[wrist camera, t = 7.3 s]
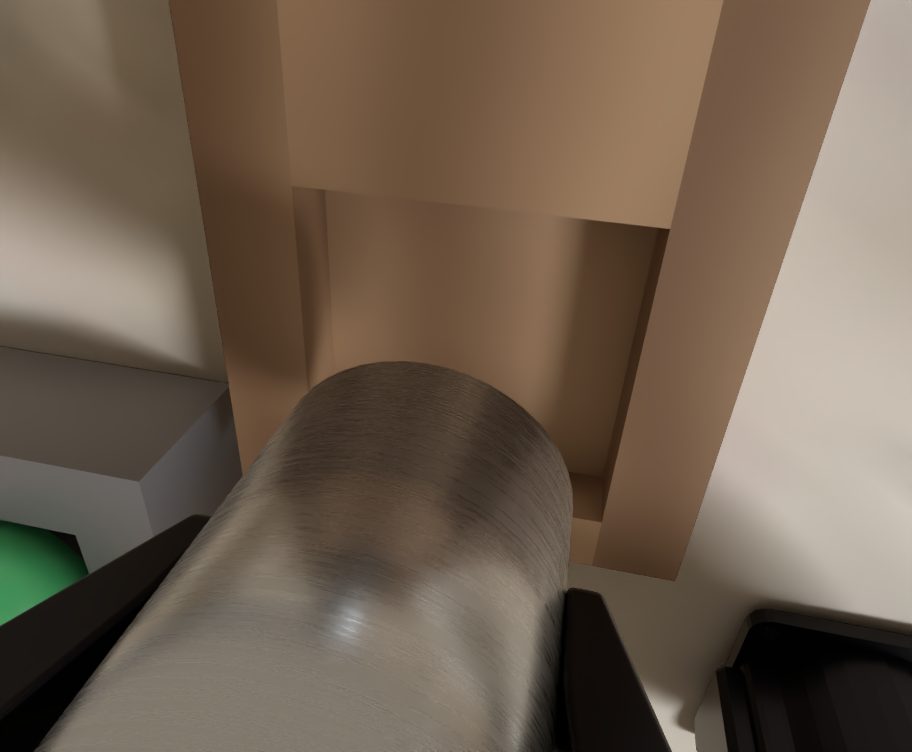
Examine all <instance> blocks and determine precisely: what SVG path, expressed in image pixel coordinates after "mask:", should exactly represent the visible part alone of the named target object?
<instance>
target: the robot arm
mask: <svg viewBox="0 0 912 752" xmlns="http://www.w3.org/2000/svg"><path fill="white" fill-rule="evenodd" d="M211 517H212V516H208V515H203V514H194V515H191V516H189V517H187V518H185V519H183V520H181V521H180V522H178V523H176V524H175V525H173V526H171V527H169V528H168V529H166V530H164V531H163V532H161V533H159V534H157V535H156V536H154V537H152V538H150V539H149V540H147V541H145V542H144V543H142V544H140V545H138V546H137V547H135V548H133V549H132V550H130V551H128V552H126V553H125V554H123V555H121V556H119V557H118V558H116V559H114V560H113V561H111V562H109V563H107V564H106V565H104V566H102V567H100V568H99V569H97V570H95V571H94V572H92V573H90V574H88V575H87V576H85V577H83V578H82V579H80V580H78V581H76V582H75V583H73V584H71V585H69V586H68V587H66V588H64V589H63V590H61V591H59V592H57V593H56V594H54V595H52V596H51V597H49V598H47V599H45V600H44V601H42V602H40V603H38V604H37V605H35V606H33V607H32V608H30V609H28V610H26V611H25V612H23V613H21V614H20V615H18V616H16V617H14V618H13V619H11V620H9V621H7V622H6V623H4V624H2V625H1V626H0V752H34V751H35V749H36V748H37V747H38V745H39V744H40V743H41V741H42V740H43V739H44V737H45V736H46V735H47V733H48V732H49V731H50V729H51V728H52V727H53V725H54V724H55V723H56V722H57V720H58V719H59V718H60V716H61V715H62V714H63V712H64V711H65V710H66V708H67V707H68V706H69V704H70V703H71V702H72V700H73V699H74V698H75V696H76V695H77V694H78V692H79V691H80V690H81V689H82V687H83V686H84V685H85V683H86V682H87V681H88V679H89V678H90V677H91V675H92V674H93V673H94V671H95V670H96V669H97V667H98V666H99V665H100V663H101V662H102V661H103V659H104V658H105V657H106V656H107V654H108V653H109V652H110V650H111V649H112V648H113V646H114V645H115V644H116V642H117V641H118V640H119V638H120V637H121V636H122V634H123V633H124V632H125V630H126V629H127V628H128V626H129V625H130V624H131V623H132V621H133V620H134V619H135V617H136V616H137V615H138V613H139V612H140V611H141V609H142V608H143V607H144V605H145V604H146V603H147V601H148V600H149V599H150V597H151V596H152V595H153V593H154V592H155V591H156V590H157V588H158V587H159V586H160V584H161V583H162V582H163V580H164V579H165V578H166V576H167V575H168V574H169V572H170V571H171V570H172V568H173V567H174V566H175V564H176V563H177V562H178V560H179V559H180V558H181V557H182V555H183V554H184V553H185V551H186V550H187V549H188V547H189V546H190V545H191V543H192V542H193V541H194V539H195V538H196V537H197V535H198V534H199V533H200V531H201V530H202V529H203V527H204V526H205V525H206V524H207V522H208V521H209V520H210V518H211ZM694 725H695V742H696V750H697V752H912V636H907V635H902V634H897V633H891V632H886V631H881V630H876V629H870V628H865V627H860V626H855V625H850V624H844V623H839V622H834V621H829V620H823V619H818V618H813V617H808V616H803V615H797V614H792V613H787V612H782V611H776V610H771V609H760V610H755V611H753V612H752V613H750V614H749V615H748V616H747V617H746V619H745V621H744V623H743V626H742V628H741V630H740V632H739V635H738V637H737V639H736V642H735V644H734V646H733V648H732V651H731V653H730V655H729V658H728V660H727V662H726V664H725V665H722V666H721V667H719V668H718V669H717V670H716V671H715V672H714V674H713V676H712V679H711V681H710V683H709V686H708V688H707V690H706V693H705V695H704V697H703V700H702V702H701V704H700V707H699V709H698V711H697V714H696V716H695V719H694ZM554 752H672V751H671V749H670V746H669V744H668V742H667V740H666V737H665V735H664V733H663V730H662V728H661V726H660V724H659V721H658V719H657V717H656V715H655V712H654V710H653V708H652V706H651V703H650V701H649V699H648V696H647V694H646V692H645V690H644V687H643V685H642V683H641V681H640V678H639V676H638V674H637V671H636V669H635V667H634V665H633V662H632V660H631V658H630V656H629V653H628V651H627V649H626V647H625V644H624V642H623V640H622V637H621V635H620V633H619V631H618V628H617V626H616V624H615V622H614V619H613V617H612V615H611V612H610V610H609V608H608V606H607V603H606V601H605V599H604V598H603V596H602V595H601V594H600V593H597V592H593V591H588V590H583V589H578V588H570V589H568V591H567V593H566V602H565V615H564V628H563V641H562V654H561V666H560V679H559V694H558V707H557V720H556V733H555V745H554Z"/></svg>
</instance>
